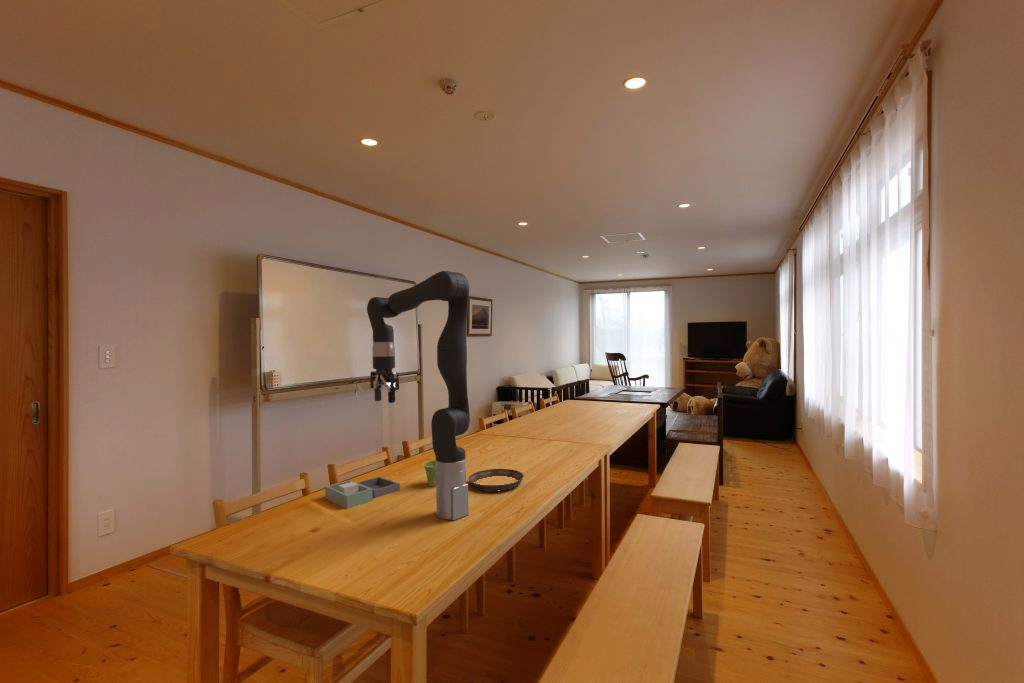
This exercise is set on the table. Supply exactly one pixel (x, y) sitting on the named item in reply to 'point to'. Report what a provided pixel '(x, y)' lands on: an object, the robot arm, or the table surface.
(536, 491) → the table surface
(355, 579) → the table surface
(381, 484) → the charcoal tub
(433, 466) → the plant pot
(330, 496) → the sage green bin
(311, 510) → the table surface
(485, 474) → the plant saucer
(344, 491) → the pale pink block
